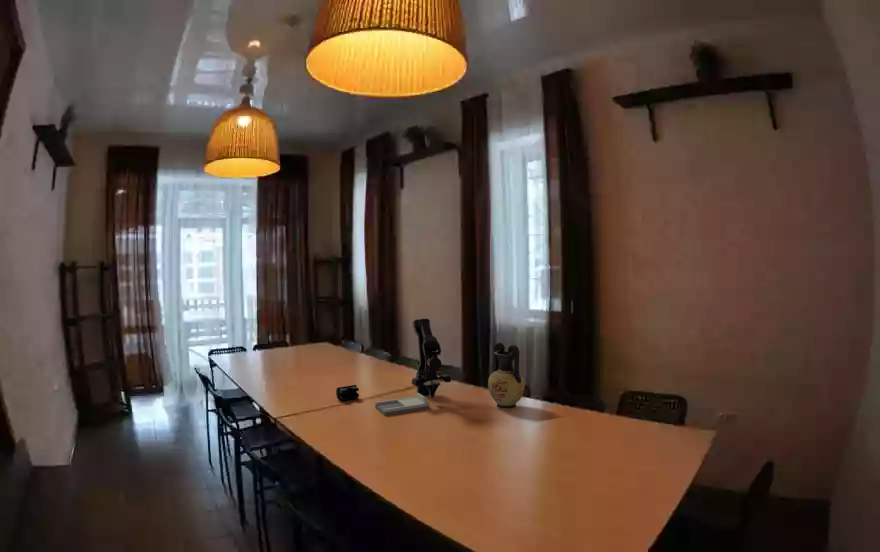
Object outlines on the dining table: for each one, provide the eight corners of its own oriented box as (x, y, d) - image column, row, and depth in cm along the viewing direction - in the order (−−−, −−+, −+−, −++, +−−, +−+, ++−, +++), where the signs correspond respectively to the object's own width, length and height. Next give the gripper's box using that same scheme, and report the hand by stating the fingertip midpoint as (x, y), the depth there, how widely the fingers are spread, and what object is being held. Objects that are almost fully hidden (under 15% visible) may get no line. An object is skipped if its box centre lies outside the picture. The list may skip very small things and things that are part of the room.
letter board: (418, 401, 252) (418, 396, 251) (429, 408, 239) (429, 403, 239) (375, 407, 242) (375, 402, 242) (384, 415, 230) (384, 409, 230)
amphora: (532, 406, 239) (531, 343, 238) (511, 415, 227) (510, 348, 226) (502, 400, 251) (500, 339, 250) (480, 407, 239) (479, 344, 238)
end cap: (354, 396, 264) (354, 383, 264) (359, 399, 258) (359, 386, 258) (336, 399, 259) (335, 386, 258) (341, 402, 253) (340, 389, 252)
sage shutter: (418, 398, 250) (418, 392, 250) (427, 404, 240) (427, 398, 240) (397, 401, 246) (397, 395, 246) (405, 407, 235) (405, 401, 235)
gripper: (441, 361, 258) (442, 391, 258) (407, 364, 250) (407, 396, 250) (451, 364, 247) (451, 396, 248) (415, 369, 240) (416, 401, 240)
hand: (431, 397), depth 247 cm, fingers closed
